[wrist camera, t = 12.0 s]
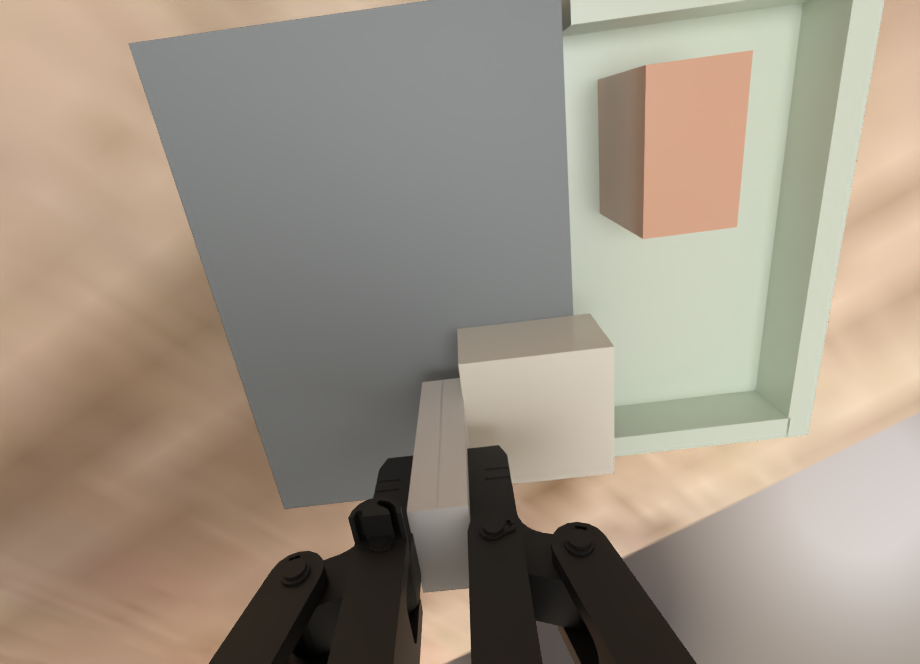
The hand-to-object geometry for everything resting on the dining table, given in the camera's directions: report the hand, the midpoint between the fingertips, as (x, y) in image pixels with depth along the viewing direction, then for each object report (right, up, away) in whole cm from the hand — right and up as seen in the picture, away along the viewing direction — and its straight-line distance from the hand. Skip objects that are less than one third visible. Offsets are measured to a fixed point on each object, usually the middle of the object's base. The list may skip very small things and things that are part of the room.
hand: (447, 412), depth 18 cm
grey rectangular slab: (-2, +6, +4) cm, 7 cm away
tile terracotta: (+6, +9, -1) cm, 11 cm away
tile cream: (+3, +1, +1) cm, 4 cm away
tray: (+9, +7, +3) cm, 12 cm away
